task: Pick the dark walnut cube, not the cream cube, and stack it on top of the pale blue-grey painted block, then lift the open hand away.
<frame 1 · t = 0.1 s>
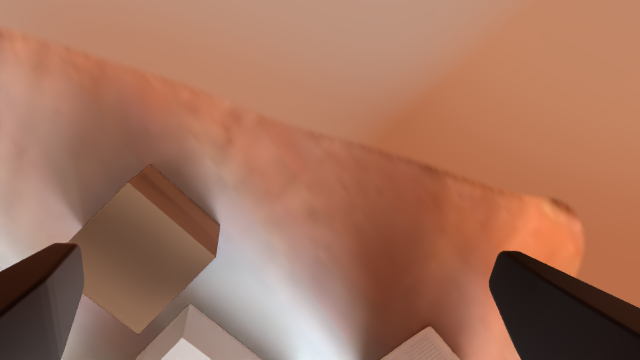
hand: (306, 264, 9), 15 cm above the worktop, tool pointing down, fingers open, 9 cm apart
walnut cube: (154, 227, 24), on the worktop
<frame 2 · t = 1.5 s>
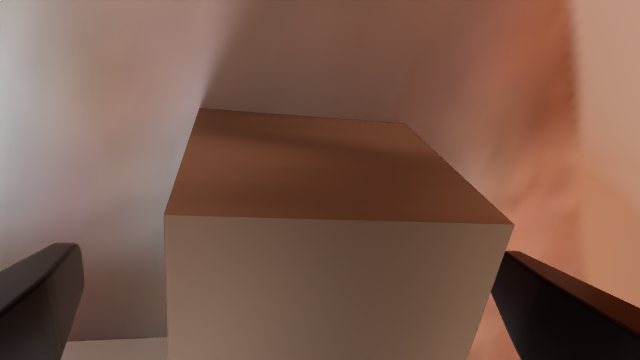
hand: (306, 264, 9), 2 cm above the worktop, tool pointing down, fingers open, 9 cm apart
walnut cube: (296, 206, 11), on the worktop
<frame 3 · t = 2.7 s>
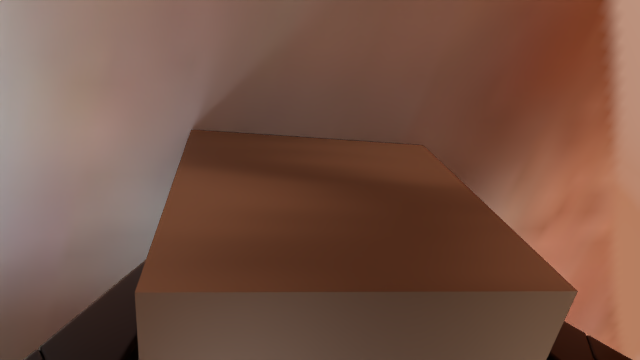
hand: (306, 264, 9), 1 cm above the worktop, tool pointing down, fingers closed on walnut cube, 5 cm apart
walnut cube: (300, 238, 10), on the worktop, touching gripper
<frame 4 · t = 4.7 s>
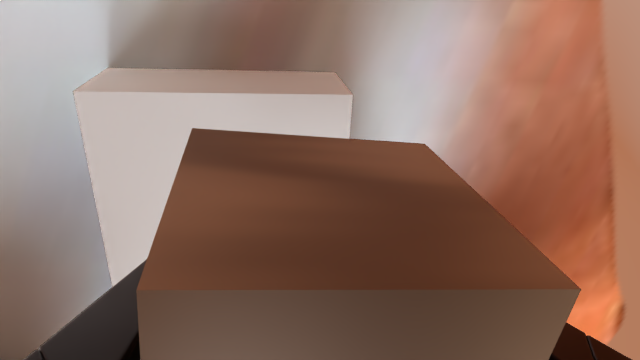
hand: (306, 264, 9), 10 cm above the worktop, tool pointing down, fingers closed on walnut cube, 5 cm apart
walnut cube: (301, 236, 10), point 9 cm above the worktop, touching gripper
base block: (230, 167, 20), on the worktop
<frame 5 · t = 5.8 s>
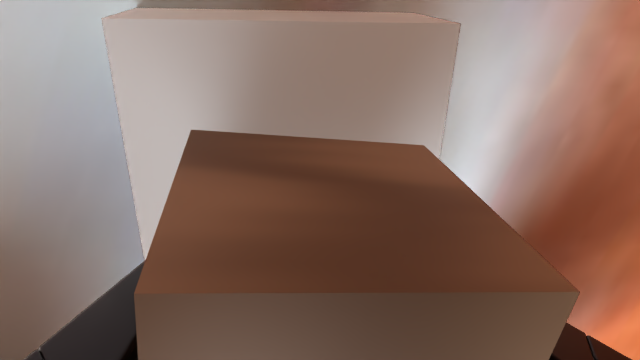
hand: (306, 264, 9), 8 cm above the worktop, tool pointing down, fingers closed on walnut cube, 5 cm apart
walnut cube: (301, 238, 10), point 7 cm above the worktop, touching gripper
base block: (282, 137, 16), on the worktop
when the fingers open (6 cm above the worktop, at t = 6.8 s): walnut cube drops 2 cm, point 4 cm above the worktop.
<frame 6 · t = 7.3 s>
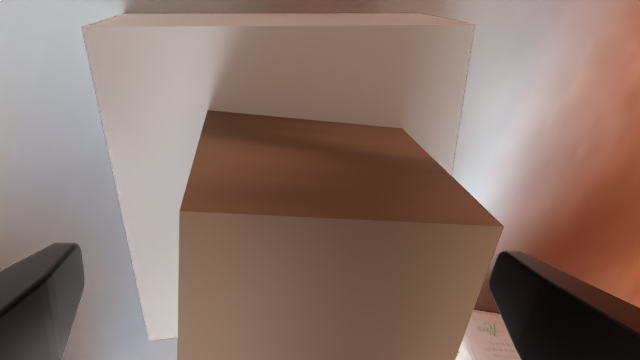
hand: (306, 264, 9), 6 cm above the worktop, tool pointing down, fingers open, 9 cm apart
walnut cube: (297, 206, 12), point 4 cm above the worktop
base block: (282, 147, 15), on the worktop
syrup box: (467, 351, 21), on the worktop
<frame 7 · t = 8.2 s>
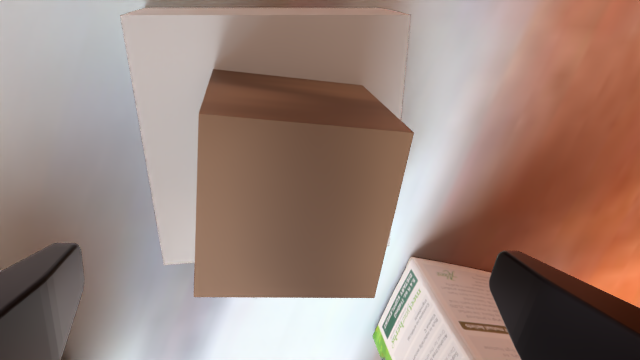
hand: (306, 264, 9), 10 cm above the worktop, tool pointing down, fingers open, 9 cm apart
walnut cube: (282, 147, 15), point 4 cm above the worktop, touching base block
base block: (270, 117, 19), on the worktop, touching walnut cube
syrup box: (433, 300, 25), on the worktop
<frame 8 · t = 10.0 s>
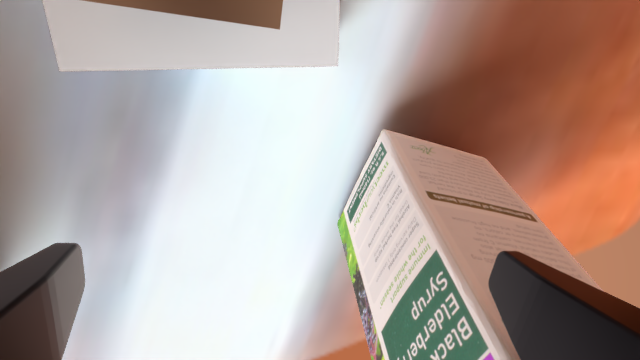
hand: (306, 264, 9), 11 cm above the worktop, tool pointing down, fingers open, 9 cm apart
syrup box: (409, 187, 21), on the worktop, touching gripper
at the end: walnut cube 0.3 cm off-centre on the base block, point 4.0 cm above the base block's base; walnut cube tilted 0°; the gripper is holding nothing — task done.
